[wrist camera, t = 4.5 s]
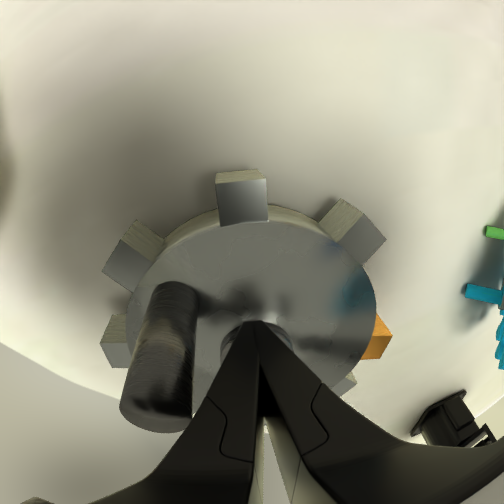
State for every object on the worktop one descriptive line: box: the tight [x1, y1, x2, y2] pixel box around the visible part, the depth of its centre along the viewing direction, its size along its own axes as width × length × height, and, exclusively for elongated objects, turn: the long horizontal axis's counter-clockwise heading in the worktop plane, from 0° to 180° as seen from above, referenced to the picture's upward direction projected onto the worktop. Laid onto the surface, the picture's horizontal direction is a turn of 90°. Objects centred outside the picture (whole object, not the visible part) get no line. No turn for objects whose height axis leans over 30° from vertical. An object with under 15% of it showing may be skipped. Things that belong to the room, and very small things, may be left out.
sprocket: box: [100, 169, 393, 433], centre depth 11 cm, size 14×14×8 cm
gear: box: [465, 226, 504, 370], centre depth 14 cm, size 11×6×10 cm
